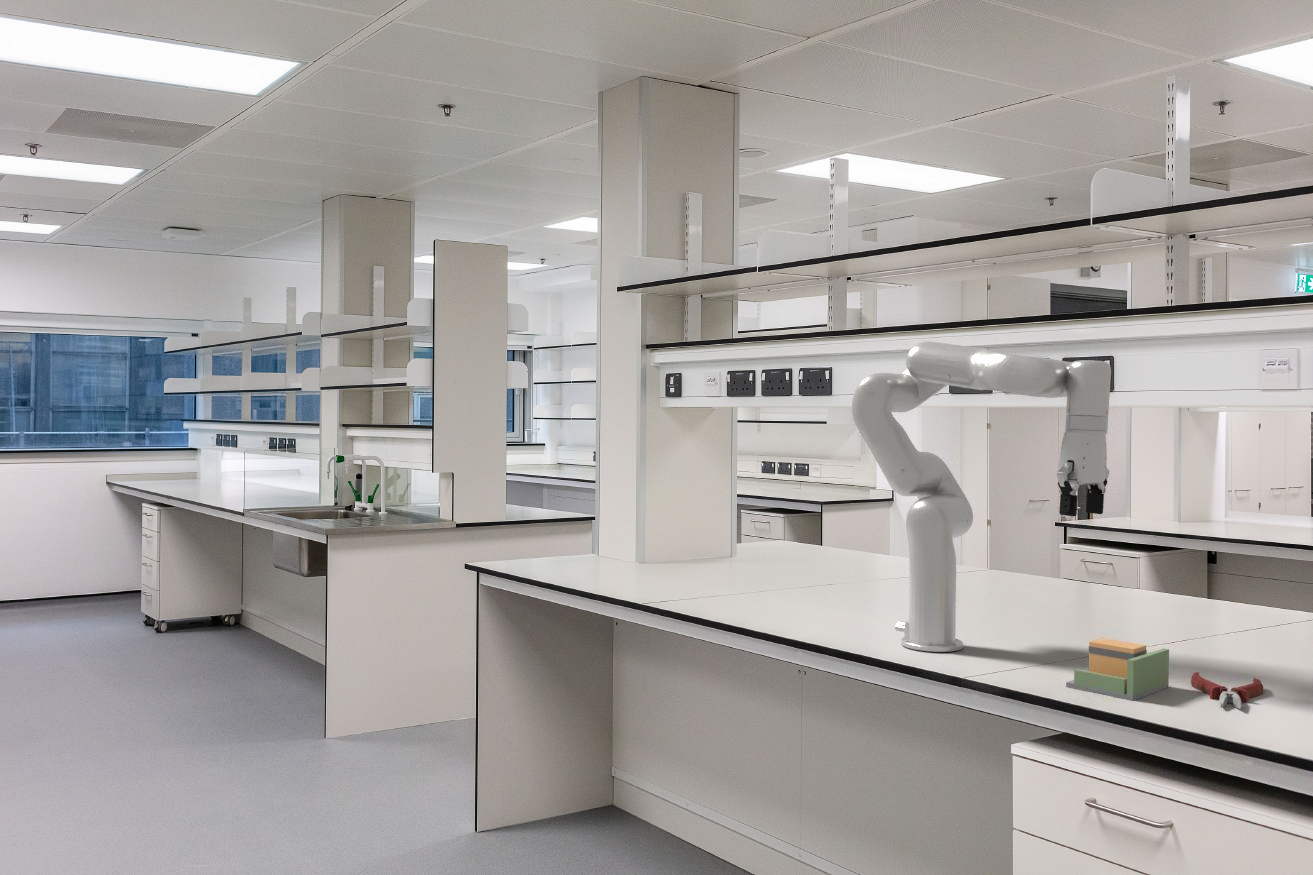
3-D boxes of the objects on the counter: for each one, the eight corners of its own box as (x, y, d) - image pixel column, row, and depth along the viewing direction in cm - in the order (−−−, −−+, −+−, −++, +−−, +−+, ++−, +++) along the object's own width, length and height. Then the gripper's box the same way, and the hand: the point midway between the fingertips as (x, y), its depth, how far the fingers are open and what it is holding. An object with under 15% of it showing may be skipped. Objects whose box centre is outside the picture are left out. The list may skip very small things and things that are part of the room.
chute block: (1088, 680, 190) (1088, 641, 190) (1101, 675, 194) (1102, 637, 194) (1133, 689, 184) (1133, 649, 184) (1146, 684, 188) (1146, 645, 188)
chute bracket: (1066, 686, 189) (1066, 648, 189) (1103, 674, 198) (1103, 638, 198) (1132, 700, 180) (1133, 660, 180) (1168, 687, 189) (1169, 649, 189)
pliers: (1192, 709, 176) (1192, 694, 176) (1190, 683, 194) (1190, 669, 194) (1271, 719, 171) (1271, 703, 171) (1261, 691, 189) (1262, 677, 189)
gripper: (1091, 424, 210) (1086, 510, 211) (1043, 423, 199) (1038, 514, 200) (1127, 426, 204) (1122, 514, 205) (1081, 425, 193) (1076, 518, 194)
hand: (1081, 514), depth 202 cm, fingers open, 9 cm apart
